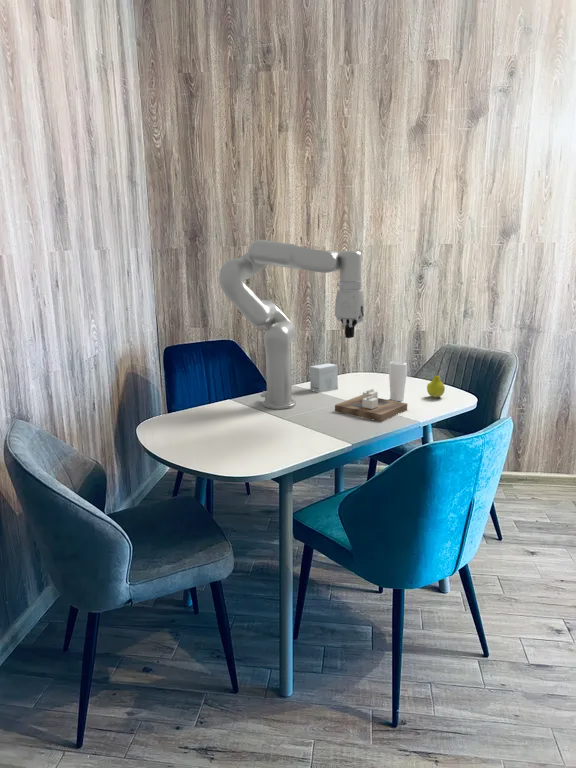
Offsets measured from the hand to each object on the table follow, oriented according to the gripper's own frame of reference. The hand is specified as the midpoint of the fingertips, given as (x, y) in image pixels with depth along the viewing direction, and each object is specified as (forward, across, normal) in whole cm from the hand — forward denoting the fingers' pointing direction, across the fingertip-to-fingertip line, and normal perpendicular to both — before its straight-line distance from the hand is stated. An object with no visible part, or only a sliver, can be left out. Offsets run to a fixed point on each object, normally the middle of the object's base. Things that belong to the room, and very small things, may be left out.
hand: (349, 337), depth 206 cm
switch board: (+27, +8, +3) cm, 28 cm away
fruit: (+27, +18, +35) cm, 48 cm away
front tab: (+24, +10, -1) cm, 26 cm away
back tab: (+24, +5, +7) cm, 26 cm away
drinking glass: (+27, +8, +22) cm, 36 cm away
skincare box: (+27, -25, +18) cm, 41 cm away
